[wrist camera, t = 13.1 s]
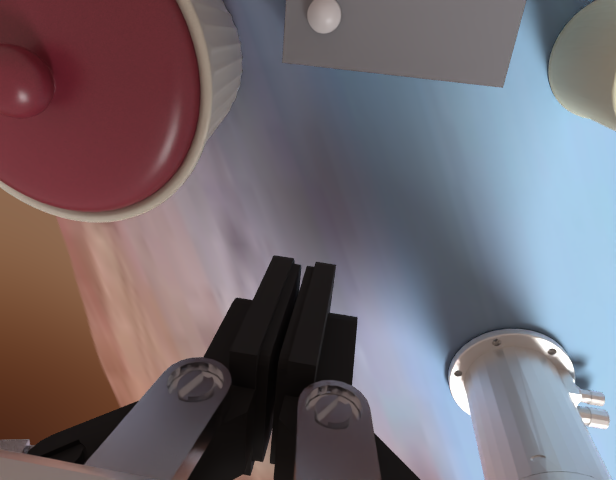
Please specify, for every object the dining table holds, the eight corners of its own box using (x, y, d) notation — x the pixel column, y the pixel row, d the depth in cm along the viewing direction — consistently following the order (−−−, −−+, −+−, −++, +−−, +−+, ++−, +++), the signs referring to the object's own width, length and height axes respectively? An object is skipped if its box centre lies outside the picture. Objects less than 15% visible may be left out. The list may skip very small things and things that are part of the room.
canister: (311, 103, 41) (249, 177, 22) (152, 184, 46) (-6, 297, 27) (203, -119, 35) (-10, -283, 16) (37, 5, 40) (-265, -7, 22)
